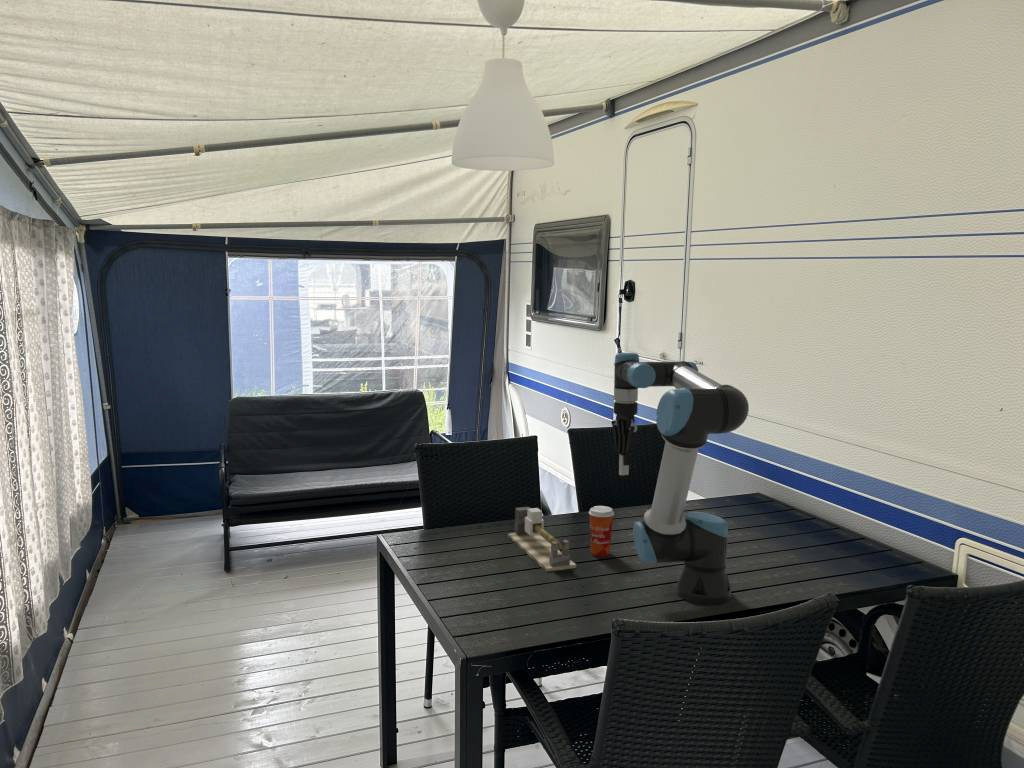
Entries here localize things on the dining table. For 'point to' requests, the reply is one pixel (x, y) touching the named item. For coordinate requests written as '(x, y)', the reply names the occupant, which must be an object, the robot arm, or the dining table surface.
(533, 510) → the sleeve
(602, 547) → the coffee cup
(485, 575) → the dining table surface
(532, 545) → the cord rig
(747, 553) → the dining table surface
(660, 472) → the robot arm
